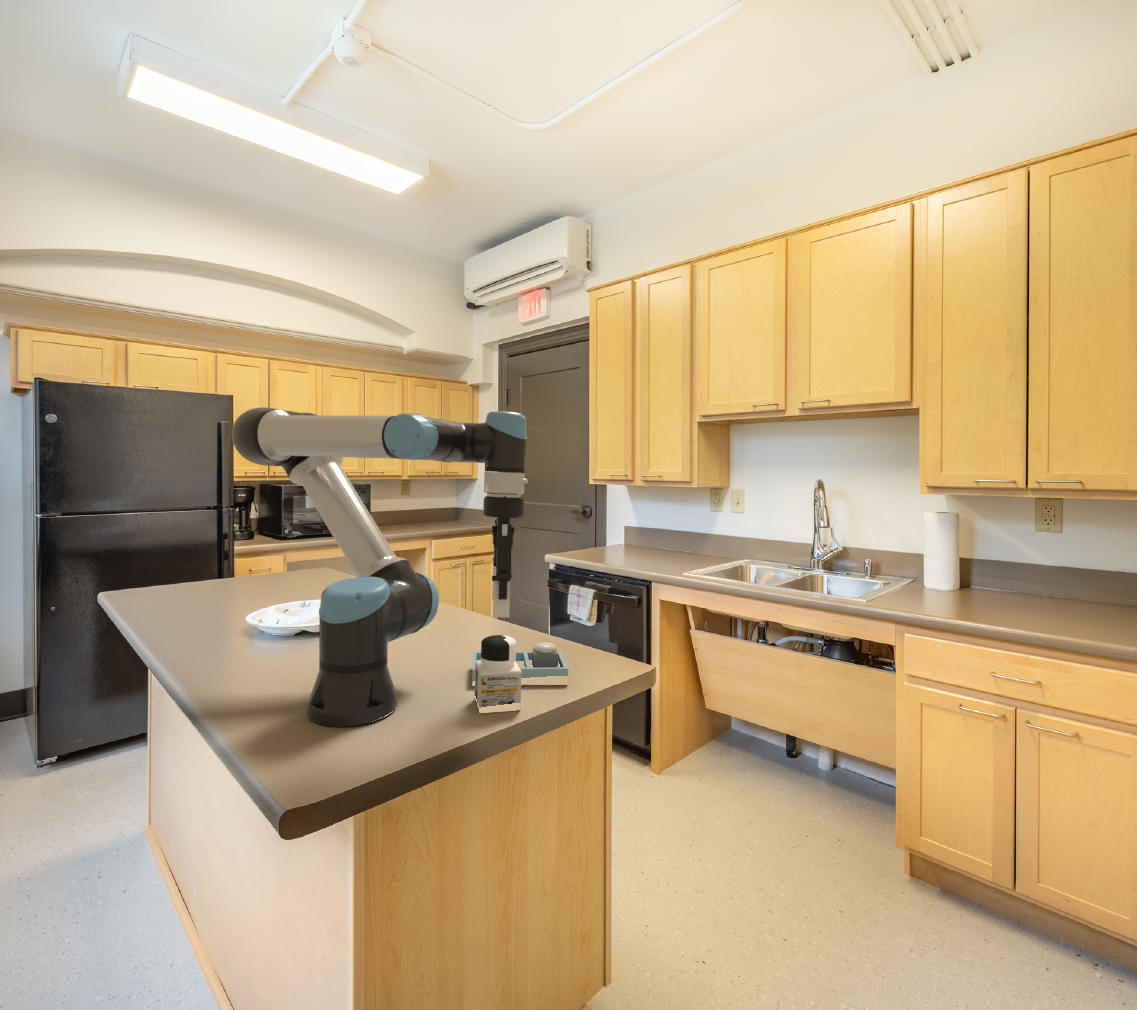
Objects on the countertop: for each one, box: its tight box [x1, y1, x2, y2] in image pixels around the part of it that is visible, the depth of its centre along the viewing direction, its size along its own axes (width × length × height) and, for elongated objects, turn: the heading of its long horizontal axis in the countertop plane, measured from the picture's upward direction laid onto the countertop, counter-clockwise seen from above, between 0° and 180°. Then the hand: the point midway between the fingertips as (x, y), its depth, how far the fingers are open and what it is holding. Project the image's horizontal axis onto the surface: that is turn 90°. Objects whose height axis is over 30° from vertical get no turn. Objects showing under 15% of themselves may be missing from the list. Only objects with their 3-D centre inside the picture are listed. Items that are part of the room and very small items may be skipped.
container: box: [474, 634, 522, 708], centre depth 113 cm, size 8×8×13 cm
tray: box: [471, 641, 569, 682], centre depth 129 cm, size 20×12×7 cm, turn 98°
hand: (500, 608), depth 112 cm, fingers open, 13 cm apart
